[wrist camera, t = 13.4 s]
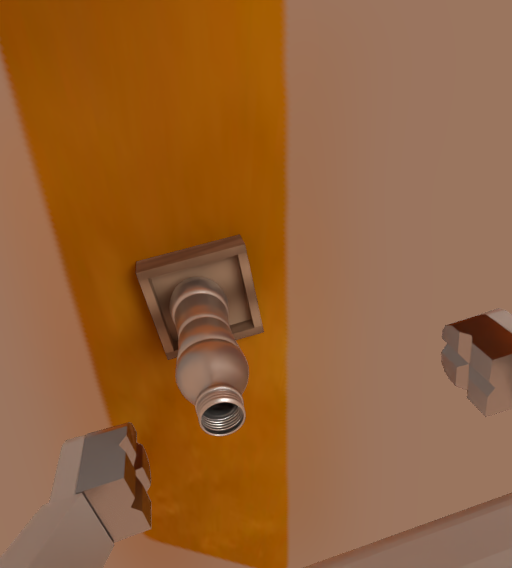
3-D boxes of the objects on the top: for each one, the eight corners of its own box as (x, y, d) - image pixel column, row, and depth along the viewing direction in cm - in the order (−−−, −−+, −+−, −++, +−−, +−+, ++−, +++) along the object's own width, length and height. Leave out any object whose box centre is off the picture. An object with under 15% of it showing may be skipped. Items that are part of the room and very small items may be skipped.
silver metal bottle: (196, 328, 52) (220, 462, 34) (155, 295, 48) (160, 423, 31) (235, 295, 51) (281, 414, 33) (197, 258, 48) (225, 370, 30)
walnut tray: (136, 261, 47) (135, 273, 45) (239, 234, 48) (244, 244, 46) (166, 345, 53) (167, 359, 50) (258, 319, 54) (263, 332, 52)
